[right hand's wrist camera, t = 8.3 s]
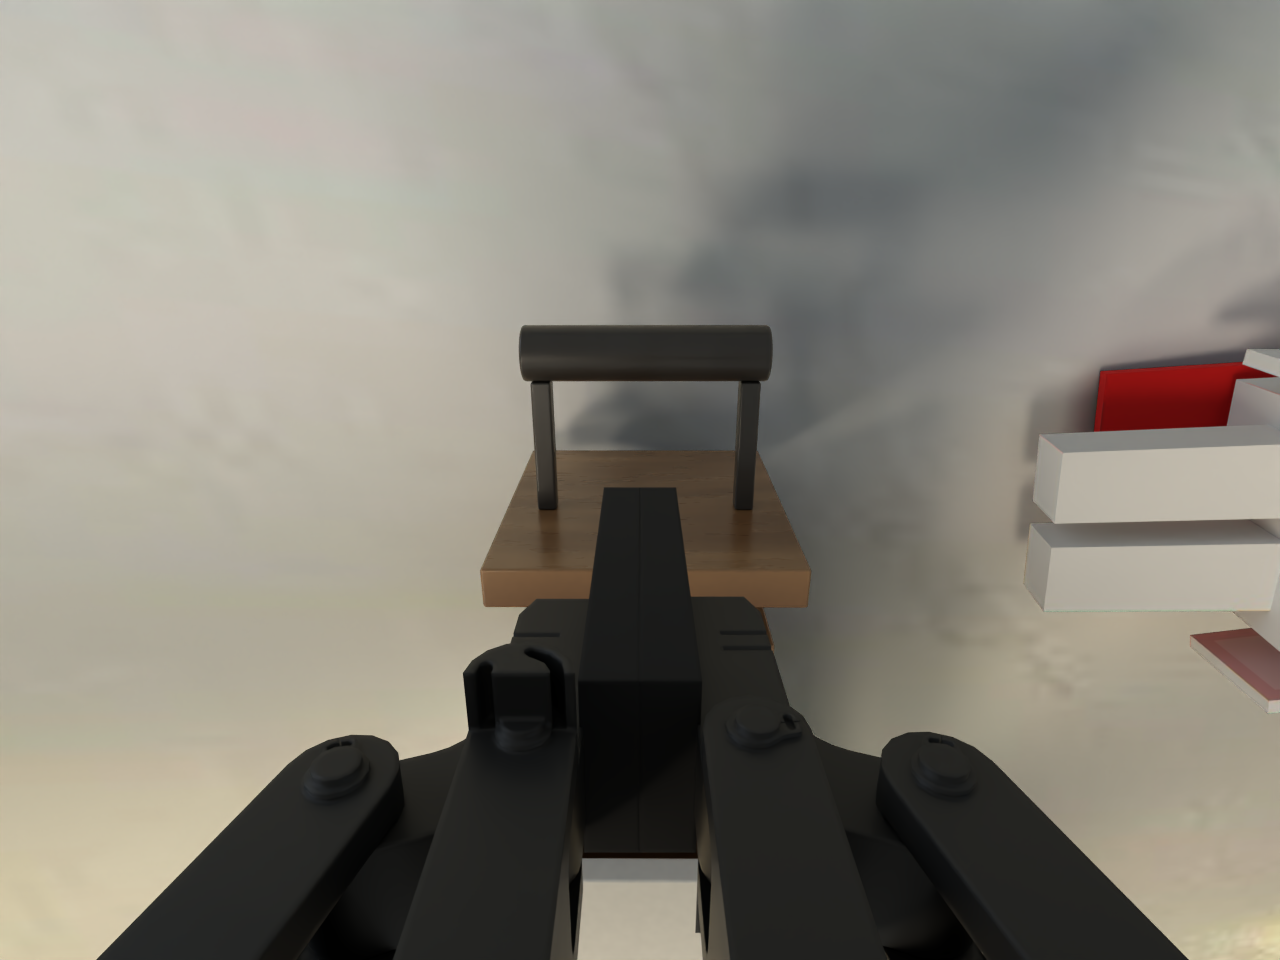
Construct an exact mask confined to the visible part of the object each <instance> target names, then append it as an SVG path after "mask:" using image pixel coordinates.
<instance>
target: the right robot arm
mask: <svg viewBox="0 0 1280 960" xmlns="http://www.w3.org/2000/svg"><path fill="white" fill-rule="evenodd" d="M463 678H464V688H465V697H466V707H467V717H468V727H469V731H468V734H467V737H466V739H465V740H463V741H461V742H459V743H457V744H455V745H453V746H451V747H449V748H446V749H443V750H440V751H437V752H433V753H430V754H425V755H421V756H417V757H413V758H408V759H404V760H400V761H399V755H398V752H397V751H396V750H395V749H394V747H393V746H392V745H391V744H390V743H389V742H388V741H386V740H383V739H380V738H378V737H375V736H372V735H349V736H344V737H340V738H335V739H331V740H327V741H325V742H323V743H321V744H319V745H316V746H314V747H312V748H310V749H308V750H306V751H305V752H303V753H302V754H301V755H299V756H298V757H297V758H296V759H294V760H293V761H292V762H290V763H289V764H288V765H287V766H286V767H285V768H284V769H283V770H282V771H281V772H280V773H279V774H278V775H277V776H276V777H275V778H274V779H273V780H272V781H271V782H270V783H269V784H268V785H267V786H266V787H265V788H264V789H263V790H262V791H261V792H260V793H259V794H258V795H257V796H256V797H255V798H254V799H253V801H252V802H251V803H250V804H249V805H248V806H247V807H246V808H245V809H244V810H243V811H242V812H241V813H240V814H239V815H238V816H237V817H236V818H235V819H234V820H233V821H232V822H231V823H230V824H229V825H228V826H227V827H226V828H225V829H224V830H223V831H222V832H221V833H220V834H219V835H218V836H217V837H216V838H215V839H214V840H213V841H212V842H211V843H210V844H209V845H208V846H207V847H206V848H205V849H204V850H203V852H202V853H201V854H200V855H199V856H198V857H197V858H196V859H195V860H194V861H193V862H192V863H191V864H190V865H189V866H188V867H187V868H186V869H185V870H184V871H183V872H182V873H181V874H180V875H179V876H178V877H177V878H176V879H175V880H174V881H173V882H172V883H171V884H170V885H169V886H168V887H167V888H166V889H165V890H164V891H163V892H162V893H161V894H160V895H159V896H158V897H157V898H156V899H155V900H154V901H153V902H152V904H151V905H150V906H149V907H148V908H147V909H146V910H145V911H144V912H143V913H142V914H141V915H140V916H139V917H138V918H137V919H136V920H135V921H134V922H133V923H132V924H131V925H130V926H129V927H128V928H127V929H126V930H125V931H124V932H123V933H122V934H121V935H120V936H119V937H118V938H117V939H116V940H115V941H114V942H113V943H112V944H111V945H110V946H109V947H108V948H107V949H106V950H105V951H104V952H103V953H102V955H101V956H100V957H99V958H98V959H97V960H577V958H578V946H579V934H580V921H581V909H582V897H583V874H582V854H583V843H584V853H696V840H697V851H698V874H697V901H696V927H695V933H701V945H702V957H703V960H1188V959H1187V958H1186V957H1185V956H1184V955H1183V954H1182V952H1181V951H1180V950H1179V949H1178V948H1177V947H1176V946H1175V945H1174V944H1173V943H1172V942H1171V941H1170V940H1169V939H1168V938H1167V937H1166V936H1165V935H1164V934H1163V933H1162V932H1161V931H1160V930H1159V929H1158V928H1157V927H1156V926H1155V925H1154V924H1153V923H1152V922H1151V921H1150V920H1149V919H1148V918H1147V917H1146V916H1145V915H1144V914H1143V913H1142V912H1141V911H1140V910H1139V909H1138V908H1137V907H1136V906H1135V905H1134V904H1133V903H1132V902H1131V901H1130V900H1129V899H1128V898H1127V897H1126V896H1125V895H1124V894H1123V893H1122V892H1121V891H1120V890H1119V889H1118V888H1117V887H1116V886H1115V885H1114V884H1113V883H1112V882H1111V881H1110V880H1109V879H1108V878H1107V877H1106V876H1105V875H1104V873H1103V872H1102V871H1101V870H1100V869H1099V868H1098V867H1097V866H1096V865H1095V864H1094V863H1093V862H1092V861H1091V860H1090V859H1089V858H1088V857H1087V856H1086V855H1085V854H1084V853H1083V852H1082V851H1081V850H1080V849H1079V848H1078V847H1077V846H1076V845H1075V844H1074V843H1073V842H1072V841H1071V840H1070V839H1069V838H1068V837H1067V836H1066V835H1065V834H1064V833H1063V832H1062V831H1061V830H1060V829H1059V828H1058V827H1057V826H1056V825H1055V824H1054V823H1053V822H1052V821H1051V820H1050V819H1049V818H1048V817H1047V816H1046V815H1045V814H1044V813H1043V812H1042V811H1041V810H1040V809H1039V808H1038V807H1037V806H1036V805H1035V804H1034V803H1033V802H1032V801H1031V800H1030V799H1029V798H1028V797H1027V796H1026V795H1025V793H1024V792H1023V791H1022V790H1021V789H1020V788H1019V787H1018V786H1017V785H1016V784H1015V783H1014V782H1013V781H1012V780H1011V779H1010V778H1009V777H1008V776H1007V775H1006V774H1005V773H1004V772H1003V771H1002V770H1001V769H1000V768H999V767H998V766H997V765H996V764H995V763H994V762H993V761H992V760H990V759H989V758H988V757H986V756H985V755H984V754H983V753H981V752H980V751H979V750H977V749H976V748H975V747H973V746H971V745H969V744H966V743H964V742H962V741H960V740H958V739H955V738H953V737H950V736H945V735H941V734H936V733H932V732H909V733H906V734H903V735H900V736H898V737H895V738H892V739H891V740H890V741H889V743H888V744H887V745H886V746H885V747H884V748H883V750H882V755H881V758H880V757H876V756H871V755H867V754H863V753H858V752H854V751H850V750H846V749H843V748H840V747H837V746H834V745H831V744H829V743H827V742H825V741H823V740H821V739H819V738H817V737H815V736H814V735H813V733H812V730H811V728H810V727H809V725H808V724H807V722H806V720H805V719H804V717H803V716H802V715H801V714H799V713H798V712H797V711H795V710H794V709H793V708H791V707H790V706H789V702H788V699H787V696H786V693H785V689H784V686H783V683H782V680H781V676H780V673H779V670H778V667H777V663H776V660H775V657H774V654H773V650H771V644H770V641H769V637H768V635H767V631H766V628H765V624H764V621H763V618H762V615H761V612H760V611H759V610H758V609H757V608H755V607H754V606H753V605H752V604H751V603H750V602H749V601H748V600H747V599H746V598H745V597H691V594H690V587H689V579H688V572H687V565H686V557H685V550H684V542H683V535H682V527H681V520H680V513H679V505H678V498H677V490H676V487H604V490H603V498H602V505H601V513H600V520H599V527H598V535H597V542H596V550H595V557H594V565H593V572H592V579H591V587H590V594H589V599H536V600H534V601H533V602H532V603H531V604H530V605H529V606H528V607H527V608H526V609H525V610H524V611H523V612H522V613H521V614H520V615H519V617H518V621H517V624H516V627H515V630H514V637H512V640H511V643H510V644H505V645H502V646H499V647H496V648H493V649H490V650H488V651H486V652H484V653H483V654H481V655H480V656H478V657H477V658H475V659H474V660H472V661H471V663H470V664H469V666H468V667H467V668H466V670H465V671H464V673H463Z"/></svg>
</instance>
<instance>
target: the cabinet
mask: <svg viewBox="0 0 1280 960" xmlns="http://www.w3.org/2000/svg"><path fill="white" fill-rule="evenodd" d="M582 874H583V897H582V909H581V921H580V934H579V946H578V958H577V960H703V957H702V945H701V933H695V927H696V901H697V874H698V859H657V858H582Z"/></svg>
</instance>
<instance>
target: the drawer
mask: <svg viewBox="0 0 1280 960" xmlns="http://www.w3.org/2000/svg"><path fill="white" fill-rule="evenodd" d="M772 354H773V344H772V333H771V330H770V327H769V326H767V325H525V326H523V327H522V328H521V331H520V337H519V362H520V370H521V374H522V377H523V379H524V380H525V381H532V383H531V399H532V416H533V432H534V449H535V451H533V452H532V455H531V457H530V459H529V461H528V464H527V466H526V468H525V471H524V473H523V475H522V477H521V480H520V482H519V484H518V486H517V489H516V491H515V493H514V495H513V498H512V500H511V502H510V504H509V507H508V509H507V511H506V513H505V516H504V518H503V520H502V522H501V525H500V527H499V529H498V531H497V534H496V536H495V538H494V540H493V543H492V545H491V547H490V550H489V552H488V554H487V556H486V559H485V561H484V563H483V565H482V568H481V570H480V573H481V584H482V594H483V604H484V606H485V607H528V606H529V605H530V604H531V603H532V602H533V601H534V600H536V599H589V594H590V587H591V579H592V572H593V565H594V557H595V550H596V542H597V535H598V527H599V520H600V513H601V505H602V498H603V490H604V487H676V490H677V498H678V505H679V513H680V520H681V527H682V535H683V542H684V550H685V557H686V565H687V572H688V579H689V587H690V594H691V597H745V598H746V599H747V600H748V601H749V602H750V603H751V604H752V605H753V606H754V607H755V608H757V609H758V610H759V611H760V612H761V615H762V618H763V621H764V624H765V628H766V631H767V635H768V637H769V641H770V644H771V650H773V654H774V643H773V640H772V636H771V633H770V629H769V626H768V622H767V619H766V615H765V612H764V608H763V607H807V606H808V599H809V589H810V579H811V569H810V567H809V565H808V562H807V560H806V558H805V556H804V553H803V551H802V549H801V547H800V545H799V542H798V540H797V538H796V536H795V533H794V531H793V529H792V527H791V524H790V522H789V520H788V518H787V515H786V513H785V511H784V509H783V507H782V504H781V502H780V500H779V498H778V495H777V493H776V491H775V489H774V486H773V484H772V482H771V480H770V477H769V475H768V473H767V471H766V469H765V466H764V464H763V462H762V460H761V457H760V455H759V453H758V451H757V436H758V420H759V404H760V388H761V384H760V382H759V381H766V380H768V378H769V376H770V372H771V366H772ZM552 381H739V387H738V406H737V426H736V446H735V451H556V444H555V424H554V403H553V383H552ZM582 858H657V859H698V851H697V840H696V853H584V843H583V854H582Z"/></svg>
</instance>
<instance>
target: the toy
mask: <svg viewBox="0 0 1280 960" xmlns="http://www.w3.org/2000/svg"><path fill="white" fill-rule="evenodd" d="M1032 501H1033V502H1034V503H1035V504H1036V505H1037V506H1038V507H1039V508H1040V509H1041V510H1042V511H1043V512H1044V513H1045V514H1046V515H1047V516H1048V517H1049V518H1050V520H1051V521H1052V522H1053V523H1030V528H1029V537H1028V546H1027V555H1026V564H1025V574H1024V583H1023V584H1024V585H1025V587H1026V588H1027V589H1028V591H1029V592H1030V594H1031V595H1032V596H1033V598H1034V599H1035V601H1036V602H1037V603H1038V605H1039V606H1040V607H1041V609H1042V610H1043V612H1137V611H1232V612H1234V613H1235V614H1236V615H1237V616H1238V617H1239V618H1241V619H1242V620H1243V621H1244V622H1245V623H1246V624H1248V625H1249V626H1250V627H1251V628H1247V629H1238V630H1230V631H1221V632H1213V633H1204V634H1195V635H1190V647H1191V648H1192V649H1193V650H1195V651H1196V652H1197V653H1198V654H1199V655H1200V656H1202V657H1203V658H1204V659H1205V660H1206V661H1207V662H1209V663H1210V664H1211V665H1212V666H1213V667H1214V668H1216V669H1217V670H1218V671H1219V672H1220V673H1221V674H1222V675H1224V676H1225V677H1226V678H1227V679H1228V680H1229V681H1231V682H1232V683H1233V684H1234V685H1235V686H1236V687H1238V688H1239V689H1240V690H1241V691H1242V692H1243V693H1245V694H1246V695H1247V696H1248V697H1249V698H1250V699H1252V700H1253V701H1254V702H1255V703H1256V704H1257V705H1258V706H1260V707H1261V708H1262V709H1263V710H1264V711H1265V712H1267V713H1268V714H1271V713H1280V349H1247V351H1246V354H1245V357H1244V361H1243V362H1234V363H1218V364H1203V365H1187V366H1172V367H1157V368H1141V369H1126V370H1110V371H1101V372H1100V381H1099V390H1098V399H1097V408H1096V417H1095V426H1094V432H1079V433H1056V434H1040V436H1039V445H1038V454H1037V463H1036V473H1035V482H1034V491H1033V500H1032Z"/></svg>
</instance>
